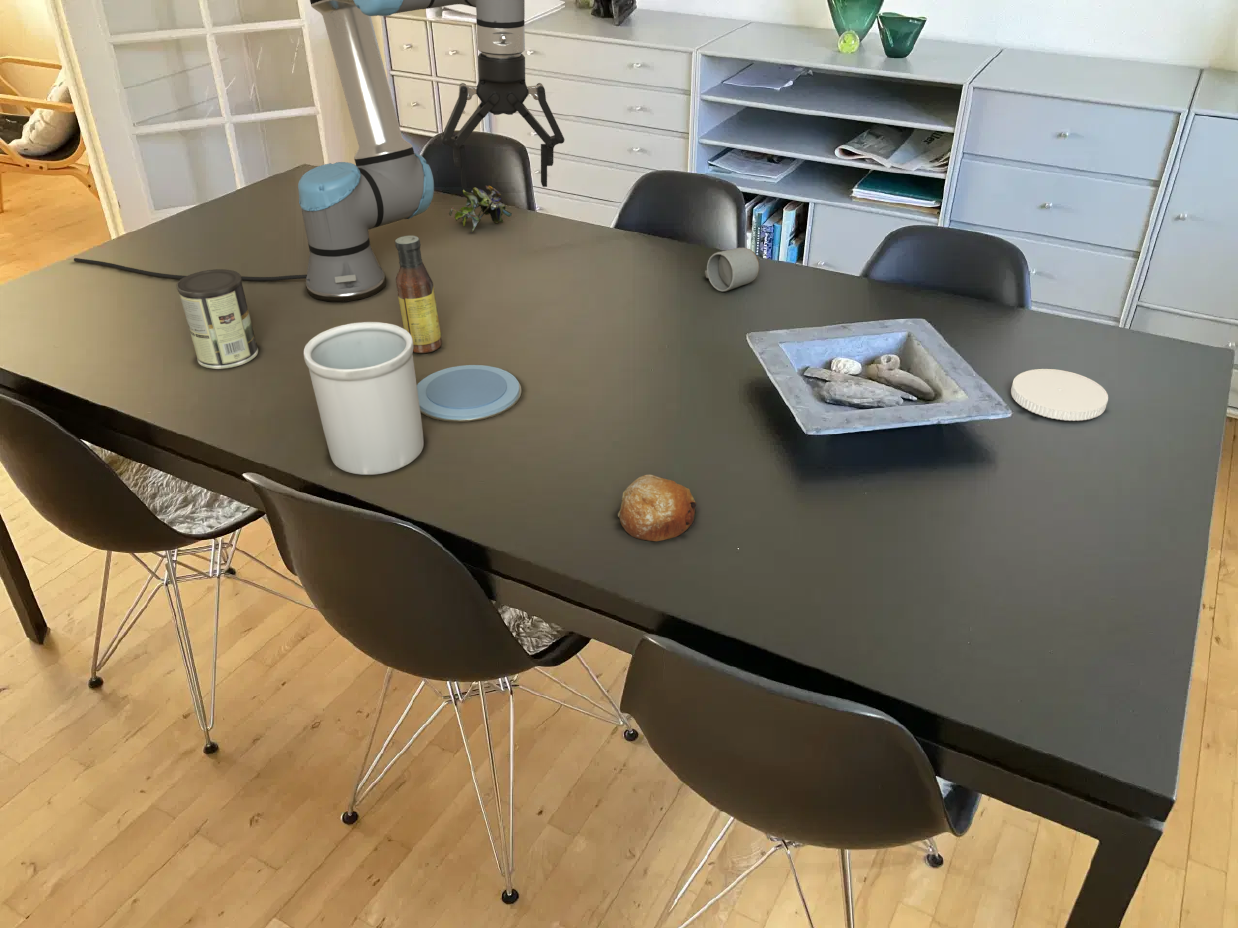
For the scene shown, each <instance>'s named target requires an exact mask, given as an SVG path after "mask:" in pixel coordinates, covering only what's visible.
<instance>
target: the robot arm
mask: <svg viewBox="0 0 1238 928" xmlns="http://www.w3.org/2000/svg"><path fill="white" fill-rule="evenodd" d="M309 2H310V6H311V8H312V9H314V10H315V11H317V12H318V13H320V15H321V16H322V19H323V22H324V27H325V29H326V33H327V37H328V41H329V44H330V47H331V51H332V55H333V59H334V62H335V65H336V69H337V73H338V77H339V80H340V84H341V87H342V90H343V91H342V92H343V95H344V99H345V102H346V106H347V109H348V112H349V116H350V119H351V123H352V127H353V130H354V134H355V137H356V141H357V145H358V149H357V151H356V153H355V155H354V156H353V160H354V163H352V162H348V161H337V162H335V163H334V162H333V163H331V162H329V163H324V164H321V165H319V166H316V167H313V168H311V169H310V170H308V171H306V172H305V173H304V174H302V176H301V177H300V179H299V181H298V185H297V188H298V189H297V190H298V203H299V207H300V209H301V215H302V220H303V224H304V225H303V226H304V230H305V236H306V240H307V245H308V250H309V251H308V252H309V257H308V264H307V270H306V271H307V272H306V274H293V275H282V276H280V275H279V276H242V275H241V278H242V281H253V282H274V281H275V282H276V281H287V280H303V279H304V280H305V286H306V292H307V294H308V295H309V296H310V297H311V298H313V299H316V300H318V301H323V302H332V303H336V302H337V303H343V302H352V301H358V300H363V299H366V298H368V297H371V296H374V295H377V293H379V292H380V291H381V290H383V289H384V288H385V286H386V278H385V272H384V270H383V269H382V267H381V265H380V264H379V262H378V259H377V257H376V255H375V254H374V250H373V248H372V246H371V241H370V240H371V239H370V233H369V230H371V229H375V228H379V227H382V226H385V225H388V224H392V223H396V222H399V221H403V220H409V219H412V218H413V217H415V216H418V215H420V214H423V213H425V212H426V211H427V210H428V209H429V207H430V206H431V203H432V201H433V199H434V193H435V182H434V175H433V171H432V169H431V166H430V164H429V163H427V160H426V159H425V158H424V157H423V156H422V155H421V154H418V153H416V152H415V151H414V147H413V144H411V143H410V142H408V141H407V140H405V139H404V138H403V134H402V131H401V127H400V123H399V119H398V116H397V112H396V109H395V108H396V107H395V104H394V101H393V97H392V93H391V88H390V85H389V81H388V78H387V74H386V70H385V66H384V61H383V58H382V54H381V50H380V46H379V42H378V39H377V35H376V31H375V27H374V23H373V19H372V17H377V16H379V17H389V16H392V15H394V14H400V13H401V14H402V13H406V12H413V11H419V10H429V9H434V8H440V7H448V6H455V5H461V6H468V7H472V8H475V12H476V18H475V19H476V45H477V47H476V48H477V50H478V51H479V52H480V53H479V54H478V55H477V71H478V72H477V73H478V75H477V76H478V81H477V85H476V86H474V85H467V84H466V83H465V82H461V83H460V84H459V87H458V98H457V100H456V102H455V105H454V106H453V109H452V111H451V114H450V115H449V118H448V120H447V122H446V125H445V127H444V129H443V132H442V134H441V143H442V144H443V146H444V145H445V146H450V147H451V148H452V154H453V165H454V167H455V168H460V180H461V188H462V189H468V182H467V161H466V158H467V157H466V146H465V144H464V143H465V142H466V141H467V139H468V138H469V136H471V134H472V133H473V132H474V131H475V130H476V128H477V127H478V126H479V124H480V123H481V122H482V121H483V119H484V118H486V117H487V115H488V114H489V113H491V114H493V115H494V116H500V115H507V116H513V114H515V113H517V112H518V114H519V115H520V116H521V117H522V118H523V119H524V121H526V123H527V124H528V125H529V127H530V128H531V129H532V130H533V131H534V132H535V133H536V134H537V136H538V137H539V139H541V141H542V142H543V143H540V183H541V186H542V188H547V187H548V167H553V166H554V150H555V146H557V145H559V144H561V145H562V144H564V143H565V137H564V135H563V133H562V130H561V128H560V127H559V125H558V123H557V122H558V121H556V118H555V116H554V114H553V112H552V110H551V108H550V106H549V103H548V102H547V97H546V89H545V87H544V84H543V83H541V82H537V83H536V84H535V85H527V82H526V56H525V55H524V54H523V53H524V52H525V51H526V36H525V34H526V30H525V29H526V28H525V23H526V22H525V17H526V16H525V12H526V11H525V8H526V7H525V6H526V5H525V4H526V3H525V0H309ZM474 95H476V96H477V98H478V99H479V101H481V102H479V104H478V106H477V107H476V109H475V110H474V111H473V113H472V115H470V117H469V118H468V119H467V120H466V122H465V123H464V124H463V126H462V127H461V128H460V129H459V131H458V132H457V133H456V134H455V136H454V133H455V130H456V129H457V126H458V124H459V122H460V120H461V117H462V115H463V113H464V110H465V108H466V106H467V103H468V101H471V100H472V98H473V96H474ZM529 95H530V96H532V98H533V100H535V101H537V102H538V104H539V106H540V108H541V110H542V113H543V114H544V116H545V118H546V121H547V122H548V124H549V127H550V129H551V131H552V133H553V134H552V135H550V134H549V133H548V132H547V131H546V130H545V128H544V127H543V126H542V124H540V122H539V120H537V118H536V117H535V116H534V115H533V114H532V113H531V112H530V111H529V109H528V108H527V106H526V105H525V104H524V102H525V101H526V99H527V98H528V96H529ZM73 261H74V263H75V262H76V263H80V264H81V263H82V264H90V265H97V266H103V267H108V268H113V269H117V270H120V271H121V270H122V271H127V272H131V273H135V274H140V275H145V276H149V277H157V278H163V279H164V278H165V279H173V280H181V279H182V278H184V277H186V276H187V275H180V274H169V273H161V272H154V271H149V270H143V269H139V268H134V267H129V266H125V265H120V264H116V263H112V262H106V261H100V260H94V259H86V258H80V257H74V258H73Z"/></svg>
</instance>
